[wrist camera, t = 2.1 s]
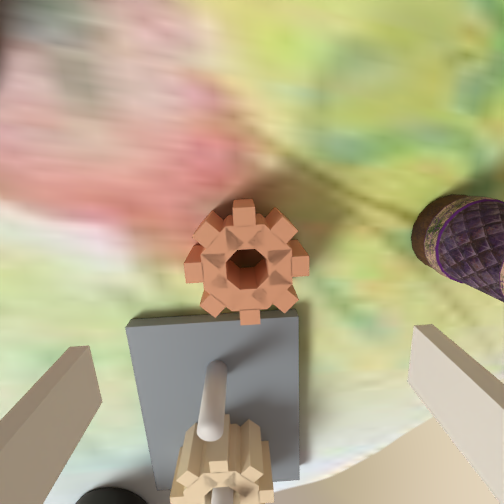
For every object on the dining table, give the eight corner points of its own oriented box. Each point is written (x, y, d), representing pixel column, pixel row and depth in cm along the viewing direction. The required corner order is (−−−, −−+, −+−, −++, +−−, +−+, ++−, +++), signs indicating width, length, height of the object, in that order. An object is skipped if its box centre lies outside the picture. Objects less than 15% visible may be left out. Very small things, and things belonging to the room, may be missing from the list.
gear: (189, 202, 26) (177, 211, 21) (296, 196, 26) (309, 203, 21) (199, 300, 29) (191, 328, 24) (297, 294, 29) (308, 321, 24)
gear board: (131, 319, 29) (88, 380, 21) (295, 309, 29) (316, 365, 21) (160, 477, 35) (136, 572, 27) (297, 466, 35) (314, 558, 27)
